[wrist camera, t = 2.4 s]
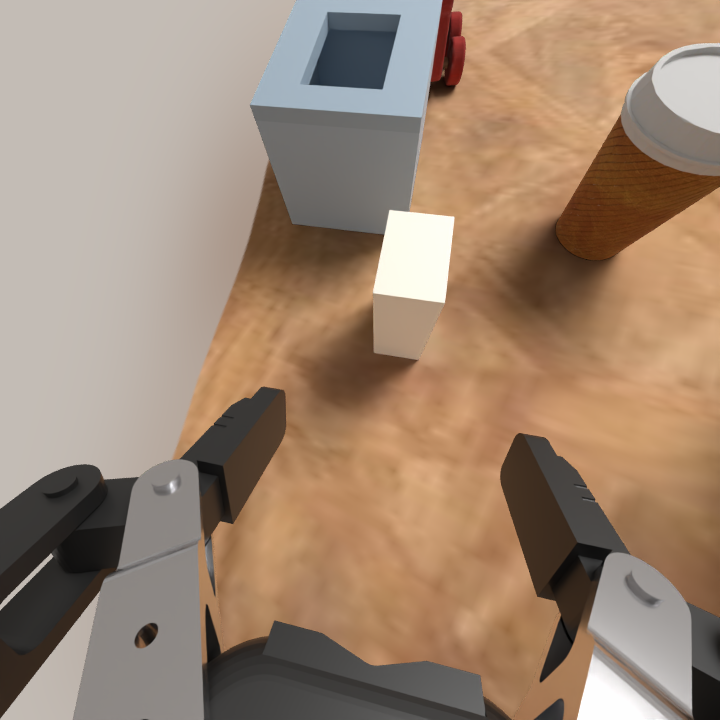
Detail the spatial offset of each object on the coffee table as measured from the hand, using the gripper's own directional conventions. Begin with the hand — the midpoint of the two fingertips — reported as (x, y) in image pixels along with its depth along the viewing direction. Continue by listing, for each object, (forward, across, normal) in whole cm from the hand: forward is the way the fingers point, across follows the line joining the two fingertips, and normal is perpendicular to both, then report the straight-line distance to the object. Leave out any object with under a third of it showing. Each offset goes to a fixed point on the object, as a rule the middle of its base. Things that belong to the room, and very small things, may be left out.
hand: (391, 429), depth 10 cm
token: (+17, 0, +2) cm, 17 cm away
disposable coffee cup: (+26, -17, -7) cm, 32 cm away
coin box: (+29, +7, -10) cm, 32 cm away
